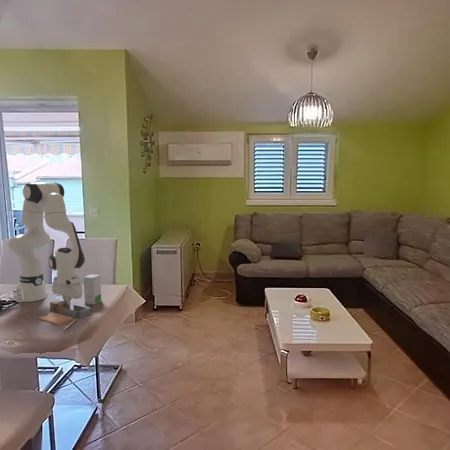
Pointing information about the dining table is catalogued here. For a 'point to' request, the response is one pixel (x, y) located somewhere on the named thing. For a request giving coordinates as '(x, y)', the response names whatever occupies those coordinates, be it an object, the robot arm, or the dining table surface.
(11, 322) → the dining table surface
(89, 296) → the skincare box
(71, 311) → the frame
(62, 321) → the rubber pad
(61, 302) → the walnut block
